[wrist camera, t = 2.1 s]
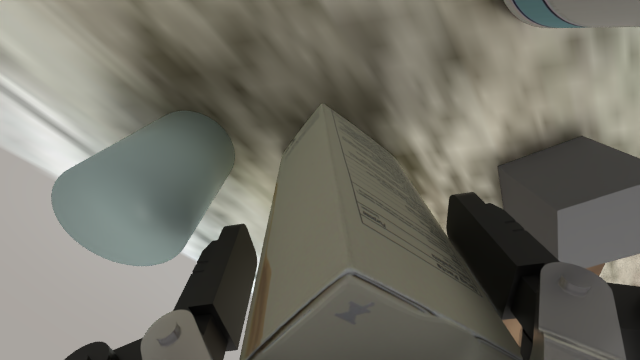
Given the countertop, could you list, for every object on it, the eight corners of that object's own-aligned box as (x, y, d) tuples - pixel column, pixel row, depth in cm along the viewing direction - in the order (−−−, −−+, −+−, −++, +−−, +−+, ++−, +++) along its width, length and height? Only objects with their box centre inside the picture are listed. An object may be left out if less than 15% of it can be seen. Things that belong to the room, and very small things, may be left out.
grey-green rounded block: (218, 104, 15) (153, 152, 9) (244, 179, 18) (206, 258, 12) (136, 118, 16) (20, 173, 10) (172, 190, 18) (98, 272, 12)
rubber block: (580, 135, 17) (676, 172, 12) (579, 197, 19) (659, 248, 14) (496, 165, 18) (557, 210, 13) (504, 221, 20) (558, 275, 15)
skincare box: (280, 155, 17) (216, 370, 6) (322, 99, 15) (336, 258, 5) (357, 206, 19) (411, 436, 8) (401, 161, 17) (543, 376, 6)
